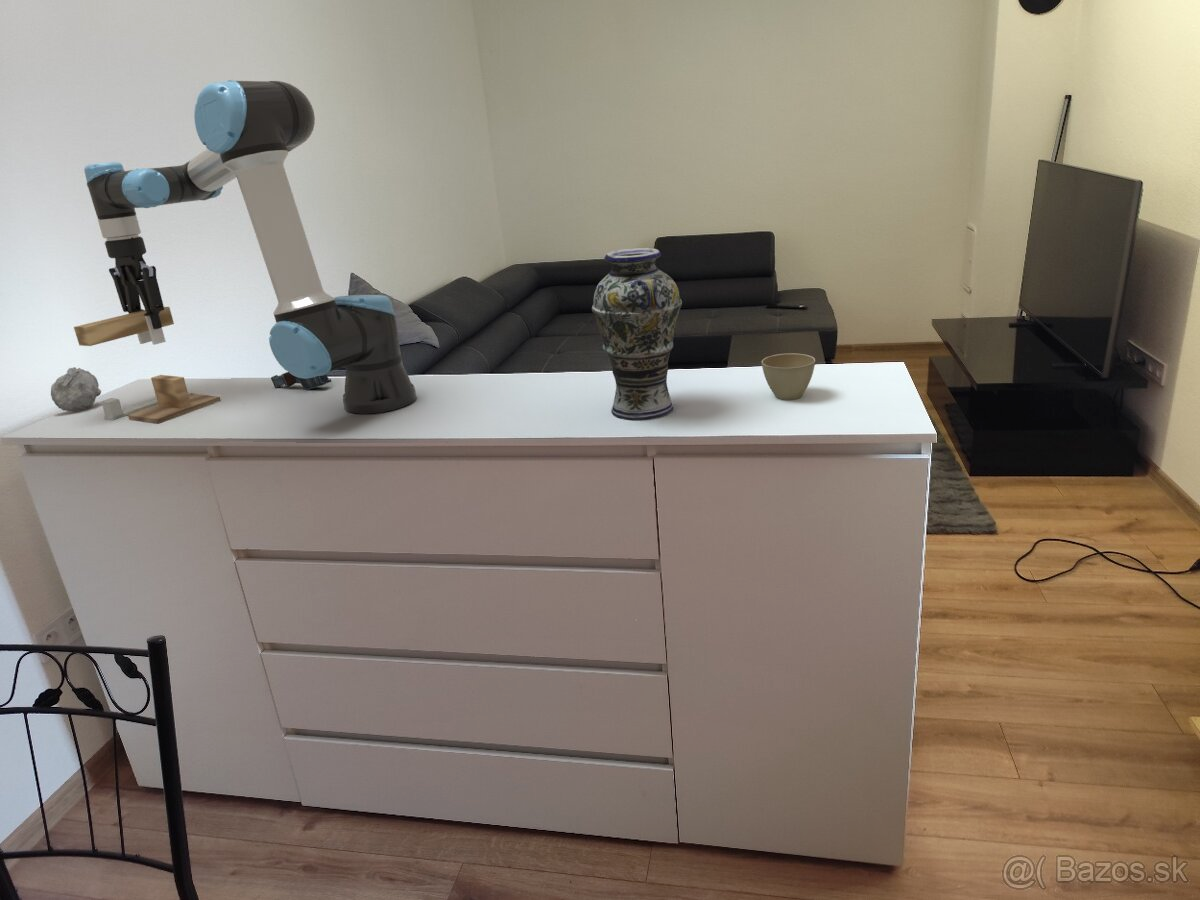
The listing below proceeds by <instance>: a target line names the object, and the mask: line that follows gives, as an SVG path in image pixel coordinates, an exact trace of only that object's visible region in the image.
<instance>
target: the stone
mask: <svg viewBox="0 0 1200 900" xmlns="http://www.w3.org/2000/svg"><path fill="white" fill-rule="evenodd" d="M99 386H100V385H99V382H98V378H97V377H96V376H95V375H94V374H92V373H91V372H90V371H89V370H85V369H82V368H80V367H78V368H77V367H69V368H68V369H67V370H66V373H65V374H63V375H61V376H59V377H57V378H56V380H55V382H54V383H52V385H51V387H50V396H51V400H52V401H53V403H54V404H55V406H57V407H58V409H61V410H62V411H66V412H67V411H68V412H76V411H78V410H82V409H87V408H91V407H92V406H93V404H94V403H95V402H96V398H97V397H99V396H100V395H101V393H102V390H101V389H100V388H99Z"/></svg>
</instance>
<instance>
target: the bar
mask: <svg viewBox="0 0 1200 900" xmlns="http://www.w3.org/2000/svg"><path fill="white" fill-rule="evenodd" d="M144 314H146V310H145V309H143V310H142V311H138V312H134V313H130V314H129V313H126V314H122V315H118V316H114V317H109V318H106V319H100V320H97V321H92V322H87V323H85V324H80V325H77V326H73V330H74V332H75V336H76V339H77V342H78V346H79V347H80V346H81V347H82V346H83V347H93V346H96V345H100V344H104V343H107V342H111V341H116V340H118V339H122V338H127V337H130V336H134V335H137V334H138V333H142V332H146V331H149V329H148V325H147V322H146V318H145V315H144ZM159 317H160V321H161V325H162V328H164V327H168V326H172V325H174V324H175V323H174V318H173V316H172V312H171V308H170V306H164V310H162V311H160V313H159Z"/></svg>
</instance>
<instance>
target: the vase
mask: <svg viewBox="0 0 1200 900" xmlns="http://www.w3.org/2000/svg"><path fill="white" fill-rule="evenodd" d="M661 256H662V253H661V251H660V250H658V249H657V248H652V247H649V248H648V247H639V248H638V247H637V248H636V247H635V248H624V249H618V250H613V251H610V252H608V253H606V254H605V255H604V257H603V258H604V259H603V260H605V262H608V263H610V264H611V270H610V271H609V272H608V274H607V275H605V276H604V277H603V278H602V279H601V280H600V281H599V283H598V284H597V286H596V287H595V290H594V293H593V304H592V307H591V311H592V313H593V315H594V317H595V320H596V324H597V327H598V330H599V333H600V337H601V340H602V341H601V342H602V349H603V350H604V352H606V354H607V356H608V359H609V361H610V364H611V367H612V374H613V377H614V381H615V385H616V386H615V391H614V393H615V394H614V398H613V399H614V400H613V403H612V406H611V407H612V408H611V414H612V416H613V417H616V418H618V419H620V420H628V421H650V420H655V419H660V418H663V417H666V416H668V415H670V414H671V413H673V411H674V409H675V407H674V405H673V403H672V399H671V396H670V392H669V389H668V388H669V387H668V383H667V378H668V372H669V366H668V365H669V358H670V353H671V351H672V349H673V348H674V342H673V341H674V334H675V329H676V328H675V327H676V324H677V320H678V316H679V313H680V309H681V307H682V305H683V301H682V299H681V296H680V291H679V287H678V285H677V283H676V282H675V281H674V279H673V278H672V277H671V276H669V275H668V274H667V273H665V272H664V271H662V270H660V269H659V268H658V267H657V266H656V260H657V259H658V258H660V257H661Z"/></svg>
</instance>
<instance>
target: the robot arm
mask: <svg viewBox="0 0 1200 900" xmlns="http://www.w3.org/2000/svg"><path fill="white" fill-rule="evenodd" d="M193 115H194V117H193V118H194V125H195V129H196V133H197V136H198V139H199V141H200V142H201V143H202V144H203V146H205V148H206V149H204V150H203V151H202V152H200V153H199V154H198V155H196V156H194V157H193V158H192V159H190V160H189V161H187V162H186V163H184V164H180V165H175V166H174V165H172V166H164V167H162V166H161V167H150V168H147V167H146V168H145V167H144V168H136V169H130V170H125V168H124V167H123V164H122V163H120V162H118V161H115V162H114V161H113V162H103V163H94V164H93V163H92V164H91V163H90V164H88V165H86V166H84V171H83V172H84V175H85V179H86V186H87V188H88V191H89V195H90V199H91V202H92V204H93V208H94V211H95V214H96V217H97V221H98V225H99V228H100V231H101V236H102V238H104V239H106V240H105V242H104V247H105V248H106V252H107V255H108V258H109V259H114V262H115V266H114V267H112V268H111V267H110V268H109V269H108V272H109V274H110V276H111V277H112V279H113V283H114V286H115V289H116V293H117V297H118V298H119V302H120V306H121V308H122V311H123V313H127V314H130V313H134V312H138V311H142V310H146V314H144V315H145V318H146V322H147V325H148V329H149V331H146V332H142V333H138V334H136V335H137V338H138V341H139V344H140V345H143V344H147V343H151V342H152V345H159V344H163V343H165V342H166V341H167V340H166V338H165V334H164V331H163V327H162V325H161V321H160V317H159V313H160V311H162V310H164V307H165V305H164V302H163V299H162V295H161V294H162V293H161V291H160V286H159V282H158V278H157V268H156V266H155V265H151V266H149V265H148V264H147V263H146V261H145V258H144V257H143V255H145V254H146V253H147V249H146V245H145V241H144V238H143V237H142V236H140V234H141V233H142V231H141V228H140V224H139V219H138V217H137V213H136V209H142V208H143V209H149V208H157V207H158V206H159V207H160V206H164V205H165V206H166V205H173V204H179V203H180V204H181V203H186V202H195V201H197V202H198V201H207V200H210V199H214V198H217V197H219V196H220V195H221V193H222V190H223V189H224V188H223V187H224V186H225V185H226V184H228V183H229V182H231V181H233V180H235V179H236V180H237V183H238V185H239V189H240V191H241V195H242V198H243V200H244V203H245V207H246V209H247V213H248V216H249V218H250V222H251V225H252V227H253V230H254V233H255V237H256V240H257V242H258V246H259V248H260V251H261V254H262V257H263V262H264V263H265V266H266V270H267V273H268V276H269V279H270V281H271V284H272V288H273V291H274V294H275V296H276V299H277V306H276V307H275V310H273V316H274V320H275V322H276V323H274V325H273V326H272V327H271V329H270V330H269V335H270V336H269V338H268V341H269V346H270V350H271V352H272V355H273V357H274V359H275V360H276V361H277V363H278V364H279V365H280V366H281V368H283V370H285V371H286V372H289V373H290V374H292V375H294V376H296V377H299V378H304V379H307V378H312V377H316V376H321V375H325V374H327V375H328V373H330V372H332V371H335V370H338V369H340V368H344V367H345V368H344V369H345V378H344V379H345V380H344V393H343V395H342V402H343V408H344V410H345V411H346V412H349V413H352V414H359V415H361V414H362V415H363V414H364V415H365V414H366V415H368V414H379V413H383V412H390V411H394V410H398V409H402V408H404V407H407V406H409V405H411V404H412V403H414V402H415V401H416V399H417V393H416V387H415V385H414V384H413V383H412V382H411V379H410V377H409V375H408V372H407V371H406V368H405V367H404V365H403V359H402V353H401V352H402V351H401V348H400V339H399V335H398V334H399V333H398V327H397V322H396V321H397V320H396V313H395V311H394V307H393V302H392V301H391V299H390V298H389V296H387V295H384V294H383V295H382V294H353V295H352V294H351V295H339V296H335V297H333V296H331V295H330V294H328V293H326V292H325V290H324V288H323V285H322V282H321V278H320V276H319V272H318V270H317V267H316V263H315V260H314V257H313V255H312V254H313V253H312V251H311V247H310V244H309V241H308V238H307V235H306V231H305V229H304V225H303V222H302V219H301V216H300V213H299V210H298V206H297V203H296V200H295V198H294V194H293V192H292V188H291V184H290V182H289V179H288V175H287V172H286V169H285V165H284V163H285V160H286V159H287V157H288V155H289V152H291V151H292V150H294V149H297V147H299V146H301V145H302V144H304V143H305V142H306V141H307V140H308V139H310V137H311V135H312V134H313V131H314V128H315V123H316V122H315V120H316V118H315V112H314V109H313V106H312V103H311V101H310V100H309V99H308V97H307V96H306V94H304V92H302V90H301V89H299V88H297V87H296V86H294V85H292V84H291V83H288V82H285V81H280V80H269V81H267V80H266V81H265V80H263V81H262V80H261V81H260V80H259V81H258V80H233V79H232V80H231V79H230V80H225V81H218V82H211V83H209V84H207V85H206V86H205V87H203V88H202V89H201V91H200V92H199V94H198V95H197V99H196V103H195V105H194V114H193ZM141 302H142V305H141ZM142 306H143V307H144V309H143V308H142Z"/></svg>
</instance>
